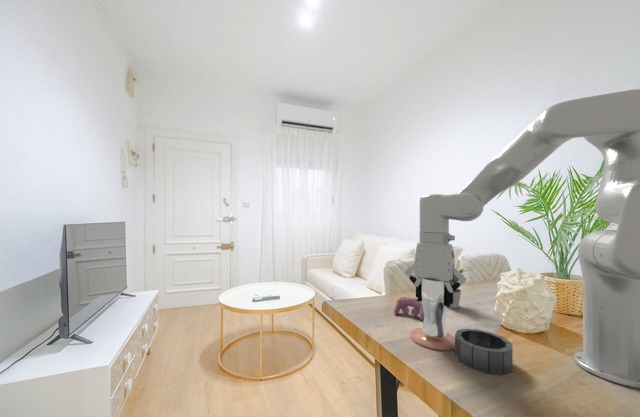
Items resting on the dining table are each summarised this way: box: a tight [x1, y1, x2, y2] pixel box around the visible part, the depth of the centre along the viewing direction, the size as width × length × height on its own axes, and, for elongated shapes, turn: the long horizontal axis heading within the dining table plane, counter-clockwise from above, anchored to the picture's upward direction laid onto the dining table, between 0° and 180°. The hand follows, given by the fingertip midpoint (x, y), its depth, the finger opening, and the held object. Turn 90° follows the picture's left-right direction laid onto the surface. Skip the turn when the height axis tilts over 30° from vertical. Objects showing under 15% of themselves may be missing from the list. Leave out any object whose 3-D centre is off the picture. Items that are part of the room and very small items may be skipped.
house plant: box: [450, 267, 472, 309], centre depth 99 cm, size 14×14×16 cm
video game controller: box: [393, 296, 424, 321], centre depth 90 cm, size 10×5×7 cm, turn 58°
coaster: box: [409, 327, 455, 352], centre depth 73 cm, size 12×12×1 cm
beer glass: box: [421, 278, 448, 338], centre depth 73 cm, size 7×7×15 cm
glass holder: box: [454, 328, 513, 376], centre depth 62 cm, size 11×11×5 cm
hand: (434, 302), depth 73 cm, fingers closed on beer glass, 6 cm apart
